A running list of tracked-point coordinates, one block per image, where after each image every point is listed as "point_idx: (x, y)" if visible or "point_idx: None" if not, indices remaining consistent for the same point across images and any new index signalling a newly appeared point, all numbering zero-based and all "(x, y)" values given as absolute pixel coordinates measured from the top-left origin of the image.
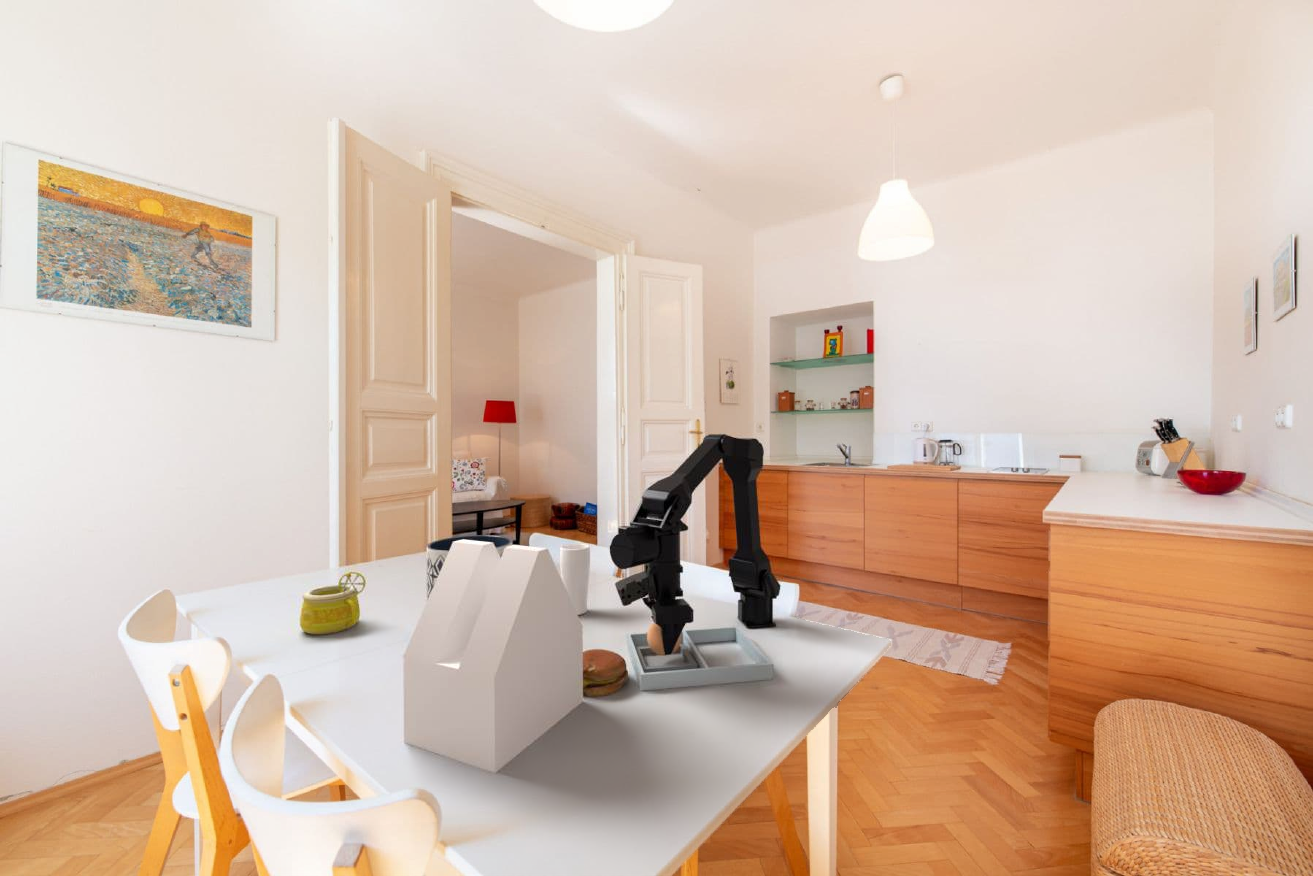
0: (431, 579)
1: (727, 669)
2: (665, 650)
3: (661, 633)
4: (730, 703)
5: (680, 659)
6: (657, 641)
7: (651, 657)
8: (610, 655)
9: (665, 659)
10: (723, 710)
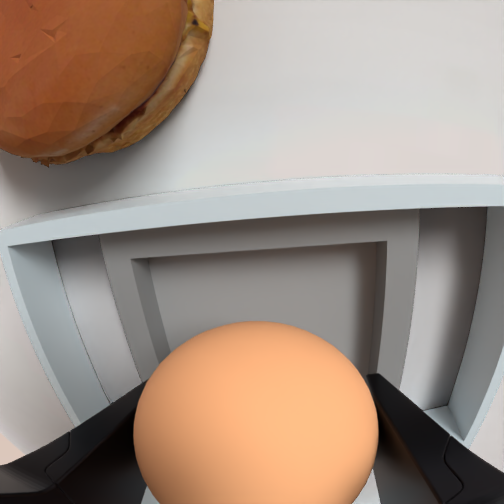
0: None
1: None
2: (134, 393)
3: (61, 449)
4: (42, 415)
5: None
6: (142, 394)
7: (339, 290)
8: (16, 63)
9: None
10: (15, 392)
